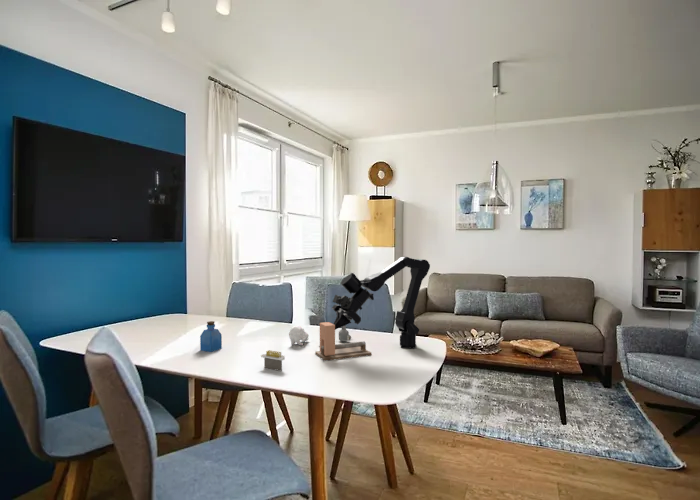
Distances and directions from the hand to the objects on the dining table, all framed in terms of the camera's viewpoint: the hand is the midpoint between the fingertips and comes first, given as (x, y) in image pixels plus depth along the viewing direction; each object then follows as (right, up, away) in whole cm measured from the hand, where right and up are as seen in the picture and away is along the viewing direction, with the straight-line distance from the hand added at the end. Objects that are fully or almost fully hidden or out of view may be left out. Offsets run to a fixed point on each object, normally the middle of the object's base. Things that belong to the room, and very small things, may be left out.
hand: (332, 329), depth 172 cm
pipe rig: (+4, -11, +2) cm, 12 cm away
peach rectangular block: (-2, -9, -1) cm, 10 cm away
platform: (-21, -12, -16) cm, 29 cm away
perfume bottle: (-53, -11, +11) cm, 55 cm away
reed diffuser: (+4, -10, +26) cm, 28 cm away
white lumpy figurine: (-16, -11, +22) cm, 29 cm away
